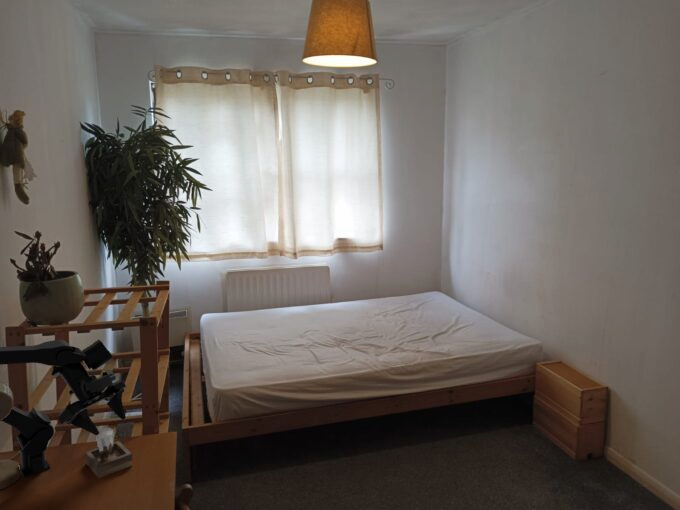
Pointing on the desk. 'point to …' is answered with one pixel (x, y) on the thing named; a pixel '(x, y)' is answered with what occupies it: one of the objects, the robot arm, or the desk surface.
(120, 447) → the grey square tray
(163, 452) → the desk surface
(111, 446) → the milkshake
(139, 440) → the desk surface
